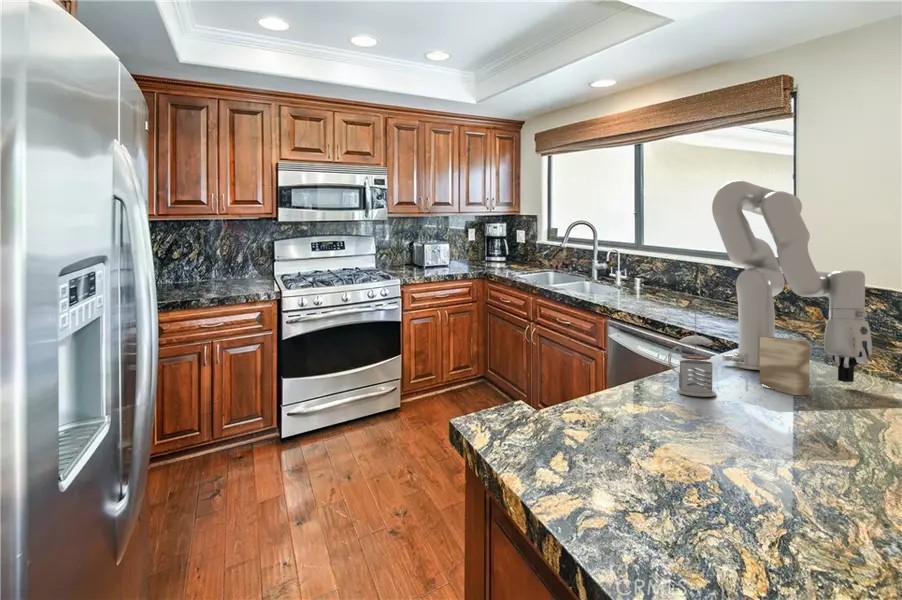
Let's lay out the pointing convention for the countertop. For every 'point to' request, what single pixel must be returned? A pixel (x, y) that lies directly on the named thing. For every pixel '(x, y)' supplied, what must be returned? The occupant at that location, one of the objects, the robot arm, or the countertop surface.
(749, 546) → the countertop surface
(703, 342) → the french press
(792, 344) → the maple block
